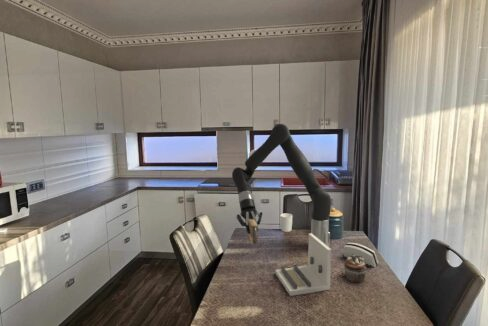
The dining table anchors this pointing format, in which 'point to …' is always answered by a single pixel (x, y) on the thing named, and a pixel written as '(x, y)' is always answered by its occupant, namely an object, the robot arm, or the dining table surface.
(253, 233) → the wooden block
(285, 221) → the white cup
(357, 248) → the white arched napkin holder
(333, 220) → the canister
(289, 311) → the dining table surface
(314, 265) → the l-shaped angle bracket
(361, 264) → the cupcake
